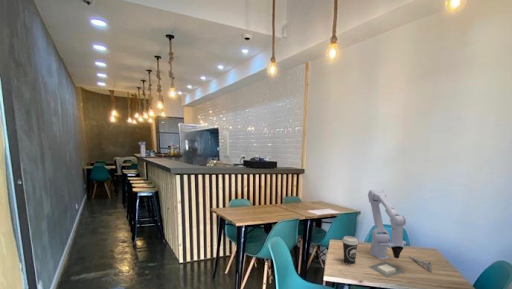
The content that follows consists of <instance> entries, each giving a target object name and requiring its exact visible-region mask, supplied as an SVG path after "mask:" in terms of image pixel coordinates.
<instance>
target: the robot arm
mask: <svg viewBox="0 0 512 289" xmlns="http://www.w3.org/2000/svg"><path fill="white" fill-rule="evenodd" d="M367 197H368V202H369V203H370V206H371V211H372V218H373V223H374V227H375V228H373V230H372V232H371V233H372V237H371V239H372V241H371V243H370V252H369V254H370V255H372V256H373V257H376V258H378V259H380V260H383V261H384V260H386V259H390V256H389V255H388V254H387V252H388V249H391V251H392V254H393V255H392V256H393V257H394V259H396V260H397V259H399V258H400V254H401V253H402V252H403V249H404V247H405V245H407V241H406V240H403V234H404V233H403V232H404V226H406V223H407V222H406V218H405V216H404V215H401V214H400V213H399V212H398V210H396V208H395V206H393V205H391V204H390V202H389V200H388V198H387V193H386V191H385V190H377V189H376V190H375V189H374V190H372V189H371V190H368V193H367ZM380 204H381V205H382V206H383V207H384V210H385V213H386V215H388V217H389V221H390V226H391V236H390V234H389V231H388V230H387V229H385V227H384V223H383V217H382V211H381V208H380Z"/></svg>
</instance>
